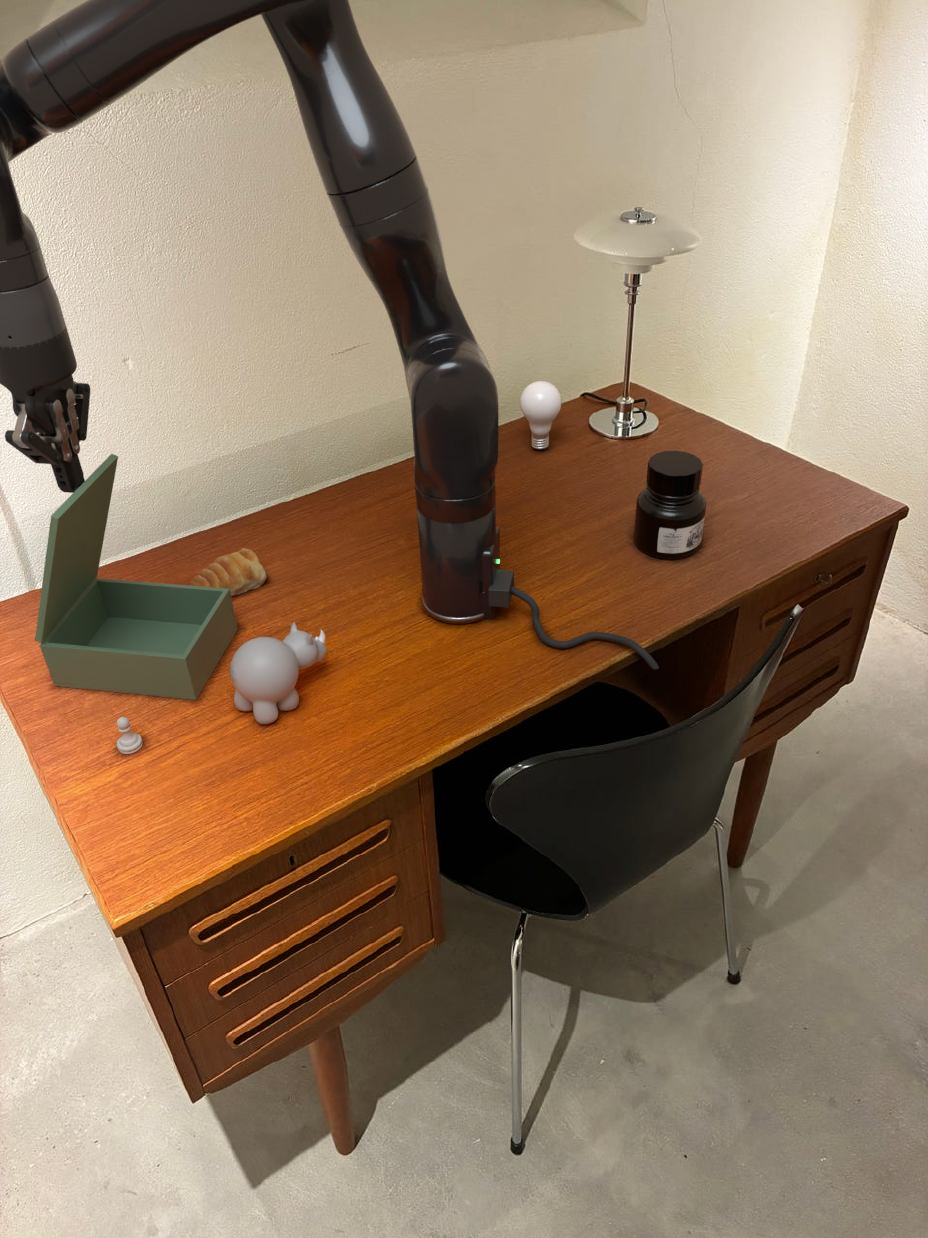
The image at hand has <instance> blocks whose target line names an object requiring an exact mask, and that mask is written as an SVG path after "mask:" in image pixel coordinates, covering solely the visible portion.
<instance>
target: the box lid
mask: <svg viewBox="0 0 928 1238" xmlns="http://www.w3.org/2000/svg"><path fill="white" fill-rule="evenodd" d="M118 460H119V456H118V455H116V454H113V453H111V454H109V456H108V457H107V458H106V459H105V460H104V461H103V462H102V463H101V464H100V465H99V466H98V467H97V468H96V469H95V470H94V471H93V472H92V473H91V474H90V475H89V476H88V477H87V478H86V479H85V481H84V482H83V483H82V485H81V486H80V487H79V488H78V489H77V490H76V491H75V492H74V493H71V495H69V496H68V498H67V499H65V501H63V502H62V504H60V506H59V507H58V508H57V509H56V510H55V511H54V512H53V513H52V514H51V515H50V521H49V530H48V536H47V545H46V551H45V552H46V553H45V560H44V567H43V576H42V584H41V591H40V598H39V606H38V614H37V622H36V630H35V635H34V636H35V638H34V641H35V642H38V643H40V644H41V643H42V642H43V641H44V640H45V638H46V637H47V636H48V635H49V633H50V632H51V631H52V630H53V629H54V627H55V626H56V625H57V624H58V623H59V621H60V620H61V619H62V618H63V617H64V615H65V614H66V613H67V612H68V611H69V609H70V608H71V607H72V606H73V605H74V603H75V602H76V601H77V600H78V599H79V597H80V596H81V595H82V594H83V593H84V591H85V590H86V589H87V588H88V586H89V585H90V584H91V583H92V582H93V580H94V579H95V578H97V577H98V574H99V568H100V563H101V558H102V557H101V556H102V551H103V545H104V541H105V540H104V539H105V534H106V528H107V523H108V517H109V512H110V505H111V499H112V495H113V488H114V483H115V477H116V471H117V467H118V462H119V461H118Z"/></svg>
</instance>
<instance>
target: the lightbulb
mask: <svg viewBox="0 0 928 1238" xmlns="http://www.w3.org/2000/svg"><path fill="white" fill-rule="evenodd" d="M562 403H563V399H562V395H561V392H560V390H559V388H557V386H555V385H554V384H553V383H551V382H549V381H547V380H546V381H545V380H536V381H533V382H531V383H530V384H528V385H527V386H525V388H524V389H523V390H522V392H521V394H520V399H519V407H520V411H521V413H522V415H523V416H524V418H525V419H526V421H527V422H528V425H529V429H530V431H531V447H532V448H533V449H535V450H537V451H542V450H545V449H547V448H549V446H550V443H549V442H550V431H551V429H552V425H553V423H554V421H555V419H556V418H557V417H558V415H559V413H560V411H561V409H562Z"/></svg>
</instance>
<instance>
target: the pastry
mask: <svg viewBox="0 0 928 1238" xmlns="http://www.w3.org/2000/svg"><path fill="white" fill-rule="evenodd" d="M266 580H267V574H266V570H265V569H264V567H263V565H262V564H261V562H260V559H259V558H258V556H257V555H256V554H255V552H254V551H253V550H252V549H251V548H245V547H242V548H241V549H239V550H238V551H235V552H232V553H228V554H225V555H220V556H218V557H217V558H215V559H214V561H213V562H211V563H210V564H209V565H208V566H207V567H204V568H202V569H201V570H200V571H199V572H198V573H197V574H195V576H194V577H192V578H191V581H190V584H189V586H201V587H214V588H227V589H230V593H231V597H234V596H238V595H242V594H244V593H247V592H248V591H250V590H256V589H258V588H260V587H261V586H262V585H263V584H264V583H265V582H266Z"/></svg>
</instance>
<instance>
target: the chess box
mask: <svg viewBox="0 0 928 1238" xmlns="http://www.w3.org/2000/svg"><path fill="white" fill-rule="evenodd" d="M238 630H239V626H238V622H237V617H236V613H235V607H234V602H233V598H232V596H231V593H230V589H227V588H214V587H201V586H190V584H189V585H188V584H177V583H175V584H174V583H161V582H152V581H151V582H149V581H139V580H138V581H137V580H125V579H124V580H123V579H112V578H101V577H98V578H97V577H96V578H95V579H94V580H93V582H92V583H91V584H90V585H89V586H88V588H87V589H86V590H85V591H84V593H83V594H82V595H81V596H80V597H79V599H78V600H77V601H76V602H75V603H74V605H73V606H72V607H71V608H70V609H69V611H68V612H67V613H66V614H65V615H64V617H63V618H62V619H61V620H60V621H59V623H58V624H57V625H56V626H55V627H54V629H53V630H52V631H51V632H50V633H49V635H48V636H47V637H46V638H45V640H44V641H43V642H42V643H40V644H39V648H40V650H41V653H42V656H43V658H44V661H45V665H46V666H47V669H48V672H49V675H50V678H51V680H52V683H53V685H54V687H60V688H72V689H80V690H81V689H82V690H90V691H91V690H92V691H98V692H99V691H101V692H110V693H111V692H112V693H121V694H131V695H139V696H140V695H141V696H151V697H159V698H162V697H163V698H171V699H182V700H189V701H190V700H191V701H196V700H197V699H198V698H199V696H200V694H201V693H202V691H203V689H204V687H205V685H206V684H207V683H208V681H209V679H210V677H211V675H212V674H213V672H214V671H215V670H216V667H217V666H218V664H219V662H220V660H221V658H222V657H223V655H224V654H225V652H226V650H227V648H228V647H229V645H230V643H231V641H233V638H234V636H235V634H236V633H237V631H238Z"/></svg>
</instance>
